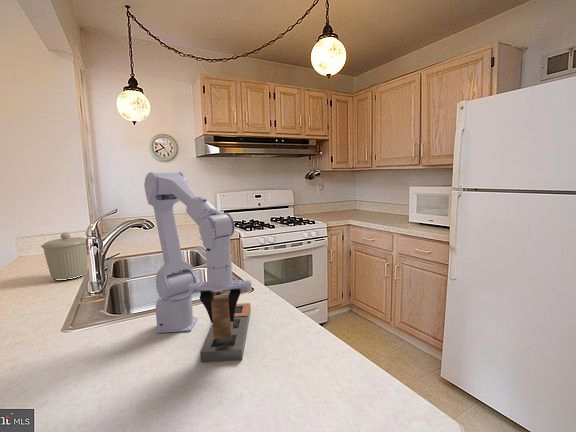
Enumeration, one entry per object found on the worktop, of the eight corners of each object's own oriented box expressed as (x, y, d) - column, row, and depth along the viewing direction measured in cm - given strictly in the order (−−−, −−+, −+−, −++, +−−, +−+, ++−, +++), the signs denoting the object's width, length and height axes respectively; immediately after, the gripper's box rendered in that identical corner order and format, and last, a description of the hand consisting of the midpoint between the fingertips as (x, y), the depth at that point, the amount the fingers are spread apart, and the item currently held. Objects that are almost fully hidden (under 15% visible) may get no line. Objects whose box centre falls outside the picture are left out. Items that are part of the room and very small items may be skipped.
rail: (200, 362, 70) (200, 351, 70) (220, 312, 97) (220, 304, 97) (242, 359, 71) (241, 348, 71) (250, 311, 98) (250, 303, 97)
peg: (213, 338, 73) (211, 301, 72) (216, 330, 77) (214, 295, 76) (230, 337, 73) (228, 300, 72) (232, 329, 77) (230, 294, 76)
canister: (75, 283, 134) (70, 235, 132) (34, 284, 134) (28, 237, 132) (101, 271, 152) (97, 229, 150) (65, 272, 152) (60, 230, 150)
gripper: (183, 271, 69) (187, 329, 70) (248, 268, 69) (251, 326, 71) (191, 263, 76) (195, 316, 77) (251, 260, 76) (253, 313, 78)
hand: (222, 320), depth 74 cm, fingers closed on peg, 4 cm apart
